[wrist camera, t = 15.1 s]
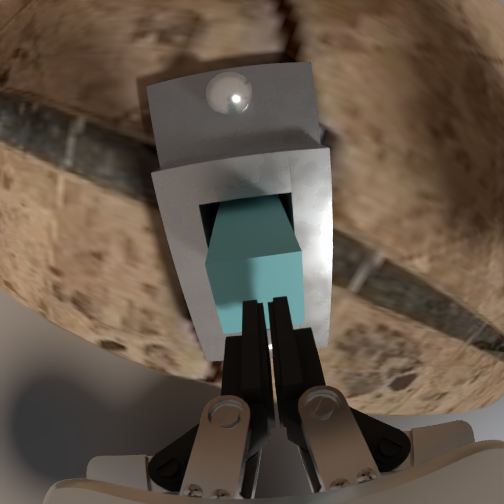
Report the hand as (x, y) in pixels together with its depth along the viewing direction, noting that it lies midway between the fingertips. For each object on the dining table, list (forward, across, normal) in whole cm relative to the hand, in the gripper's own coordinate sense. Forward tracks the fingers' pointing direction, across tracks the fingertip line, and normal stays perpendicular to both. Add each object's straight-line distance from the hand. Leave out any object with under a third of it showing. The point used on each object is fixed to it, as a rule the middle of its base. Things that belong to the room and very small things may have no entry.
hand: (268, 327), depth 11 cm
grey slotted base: (+12, +1, 0) cm, 12 cm away
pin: (+12, 0, 0) cm, 12 cm away
